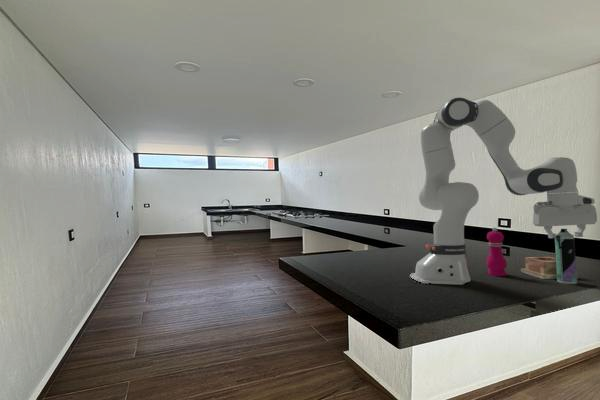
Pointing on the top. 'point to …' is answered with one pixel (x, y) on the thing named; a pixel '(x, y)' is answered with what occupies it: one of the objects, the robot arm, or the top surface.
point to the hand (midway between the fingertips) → (565, 237)
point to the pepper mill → (496, 254)
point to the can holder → (541, 267)
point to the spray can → (565, 257)
